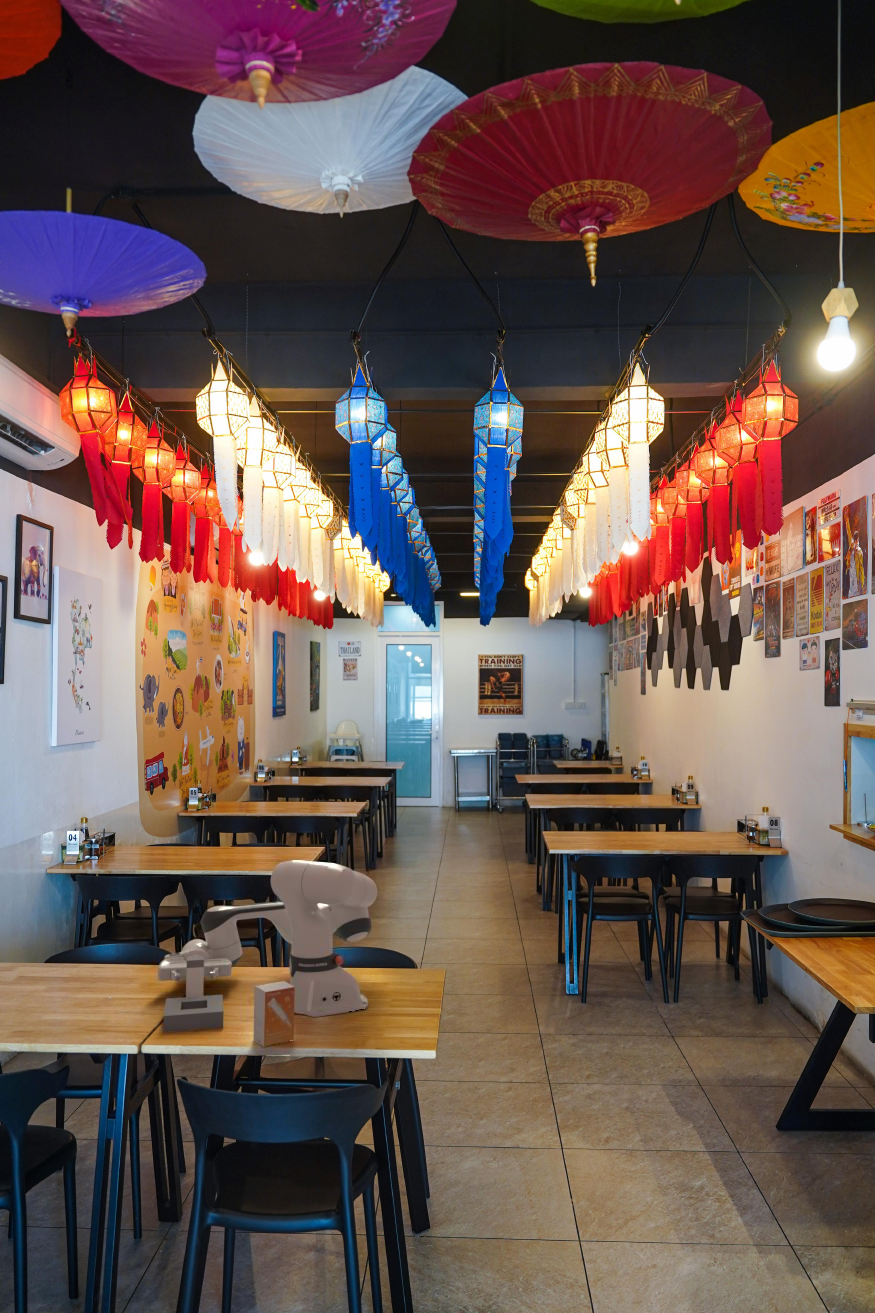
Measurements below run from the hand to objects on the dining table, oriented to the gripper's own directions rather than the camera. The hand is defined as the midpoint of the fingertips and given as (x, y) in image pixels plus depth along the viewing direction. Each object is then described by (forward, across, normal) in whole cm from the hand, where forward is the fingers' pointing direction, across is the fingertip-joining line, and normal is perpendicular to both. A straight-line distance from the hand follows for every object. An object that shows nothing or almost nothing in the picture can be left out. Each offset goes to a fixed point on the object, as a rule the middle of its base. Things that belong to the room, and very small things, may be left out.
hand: (194, 977), depth 246 cm
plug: (-1, 0, -7) cm, 7 cm away
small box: (+35, -19, -7) cm, 41 cm away
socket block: (+15, 0, -7) cm, 17 cm away
